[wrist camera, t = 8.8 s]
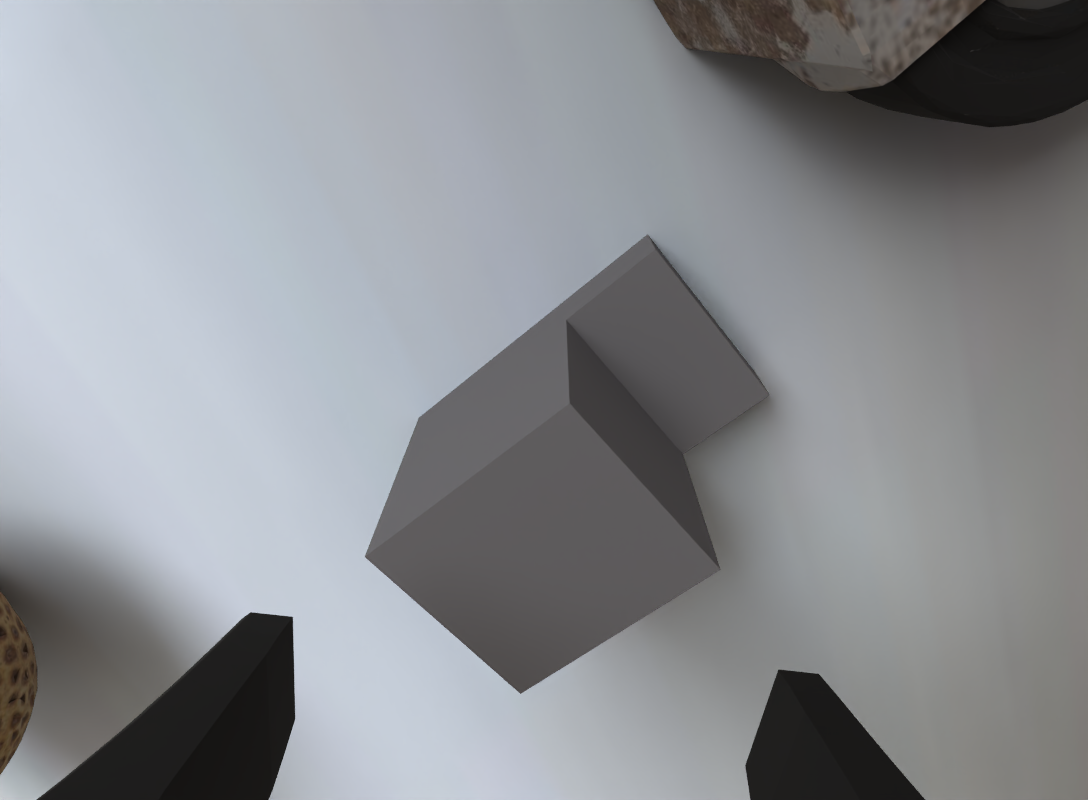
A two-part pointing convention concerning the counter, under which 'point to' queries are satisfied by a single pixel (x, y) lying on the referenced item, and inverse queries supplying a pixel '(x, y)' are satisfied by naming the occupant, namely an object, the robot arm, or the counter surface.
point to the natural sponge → (14, 681)
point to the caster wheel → (910, 50)
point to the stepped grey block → (567, 474)
